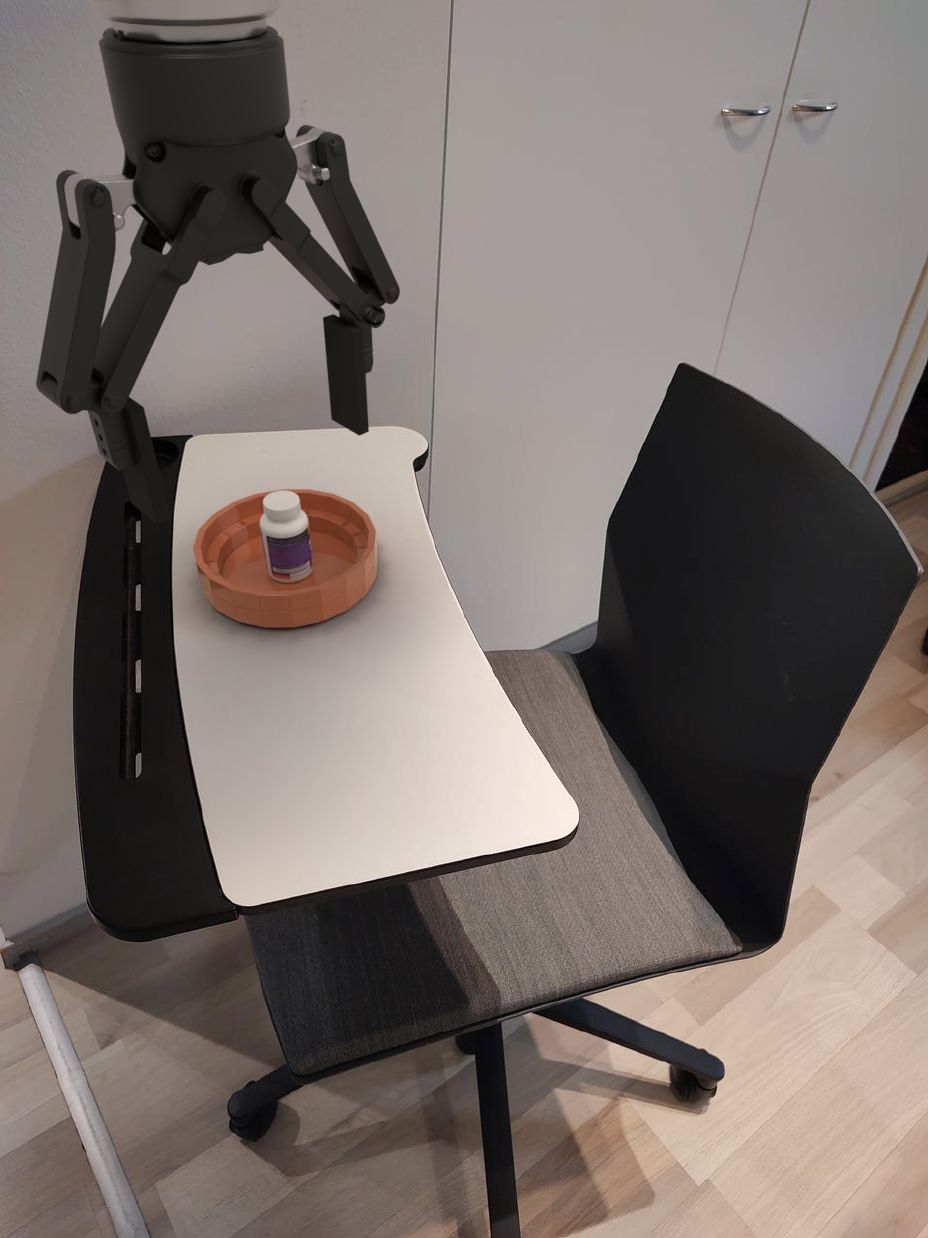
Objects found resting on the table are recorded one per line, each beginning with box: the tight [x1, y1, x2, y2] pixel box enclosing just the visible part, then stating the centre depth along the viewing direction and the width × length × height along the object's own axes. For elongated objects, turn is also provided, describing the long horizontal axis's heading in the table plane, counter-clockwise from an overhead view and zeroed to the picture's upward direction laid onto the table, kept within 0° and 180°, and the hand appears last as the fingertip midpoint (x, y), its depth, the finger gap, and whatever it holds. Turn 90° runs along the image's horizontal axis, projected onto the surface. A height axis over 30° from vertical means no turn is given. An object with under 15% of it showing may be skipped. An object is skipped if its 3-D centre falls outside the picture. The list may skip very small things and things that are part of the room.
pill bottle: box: [260, 491, 313, 583], centre depth 86 cm, size 5×5×8 cm
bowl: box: [192, 488, 378, 628], centre depth 88 cm, size 17×17×4 cm
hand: (257, 465), depth 51 cm, fingers open, 13 cm apart
